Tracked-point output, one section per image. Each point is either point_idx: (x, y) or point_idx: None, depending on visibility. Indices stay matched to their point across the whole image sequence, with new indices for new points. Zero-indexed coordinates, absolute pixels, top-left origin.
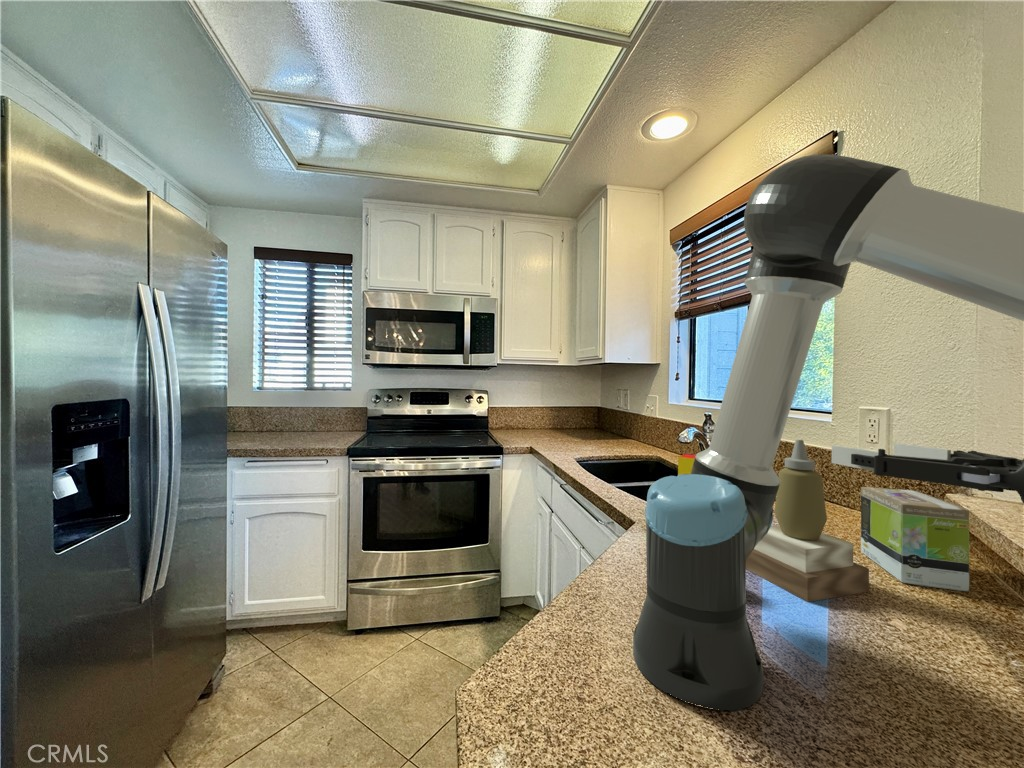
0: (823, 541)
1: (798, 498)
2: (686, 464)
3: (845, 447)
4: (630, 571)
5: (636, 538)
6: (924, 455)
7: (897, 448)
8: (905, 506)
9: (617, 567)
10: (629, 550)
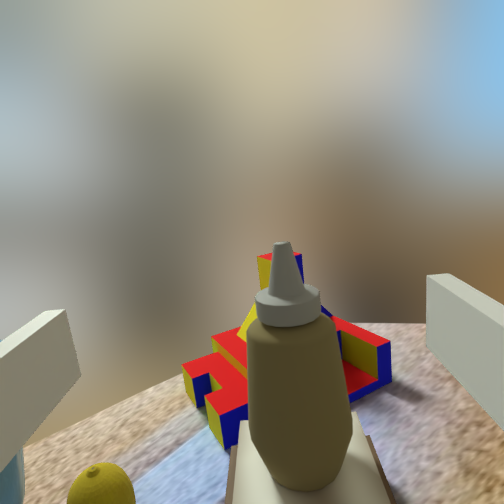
0: (326, 499)
1: (255, 396)
2: (265, 269)
3: (14, 334)
4: (46, 468)
5: (168, 386)
6: (497, 369)
7: (433, 300)
8: None
9: (44, 455)
10: (119, 414)
